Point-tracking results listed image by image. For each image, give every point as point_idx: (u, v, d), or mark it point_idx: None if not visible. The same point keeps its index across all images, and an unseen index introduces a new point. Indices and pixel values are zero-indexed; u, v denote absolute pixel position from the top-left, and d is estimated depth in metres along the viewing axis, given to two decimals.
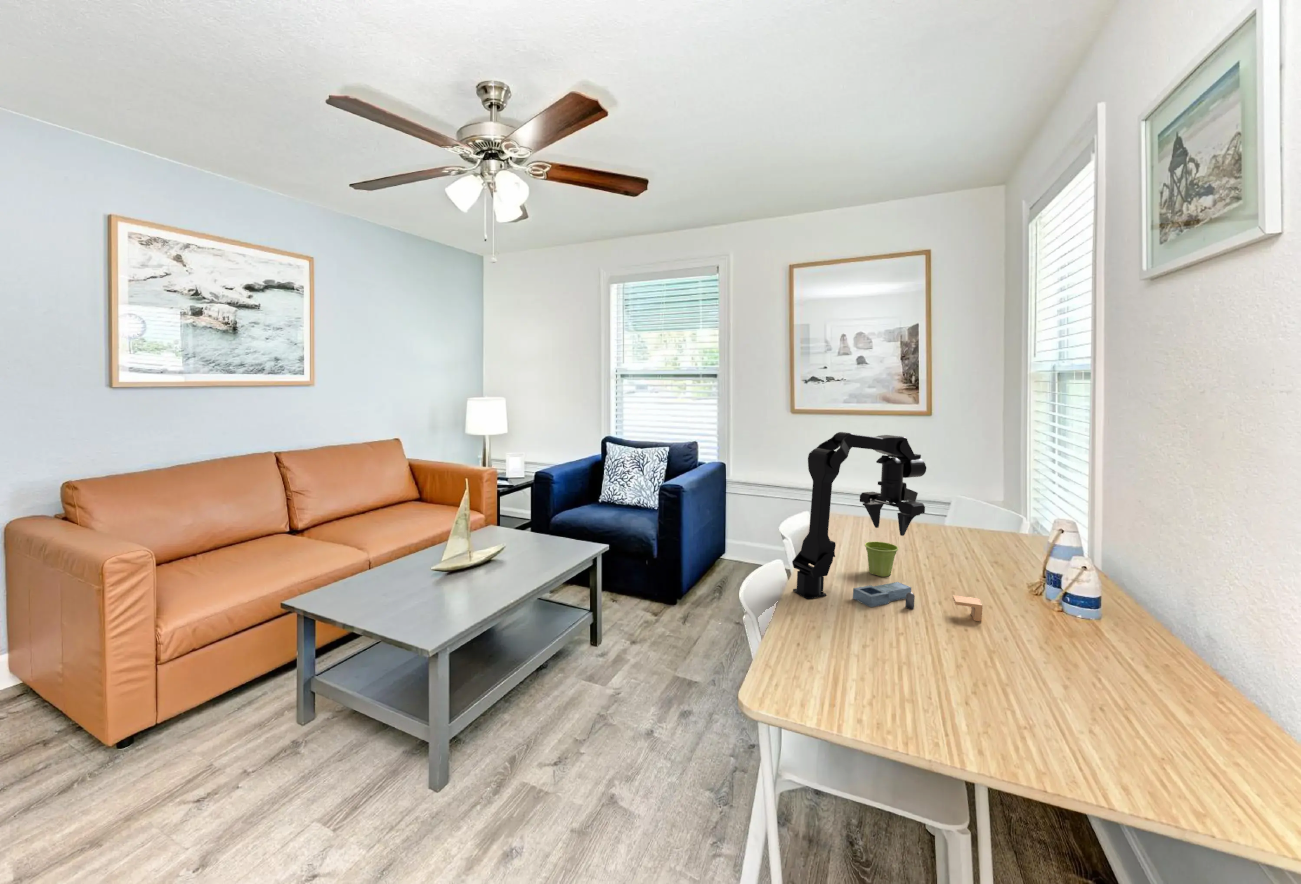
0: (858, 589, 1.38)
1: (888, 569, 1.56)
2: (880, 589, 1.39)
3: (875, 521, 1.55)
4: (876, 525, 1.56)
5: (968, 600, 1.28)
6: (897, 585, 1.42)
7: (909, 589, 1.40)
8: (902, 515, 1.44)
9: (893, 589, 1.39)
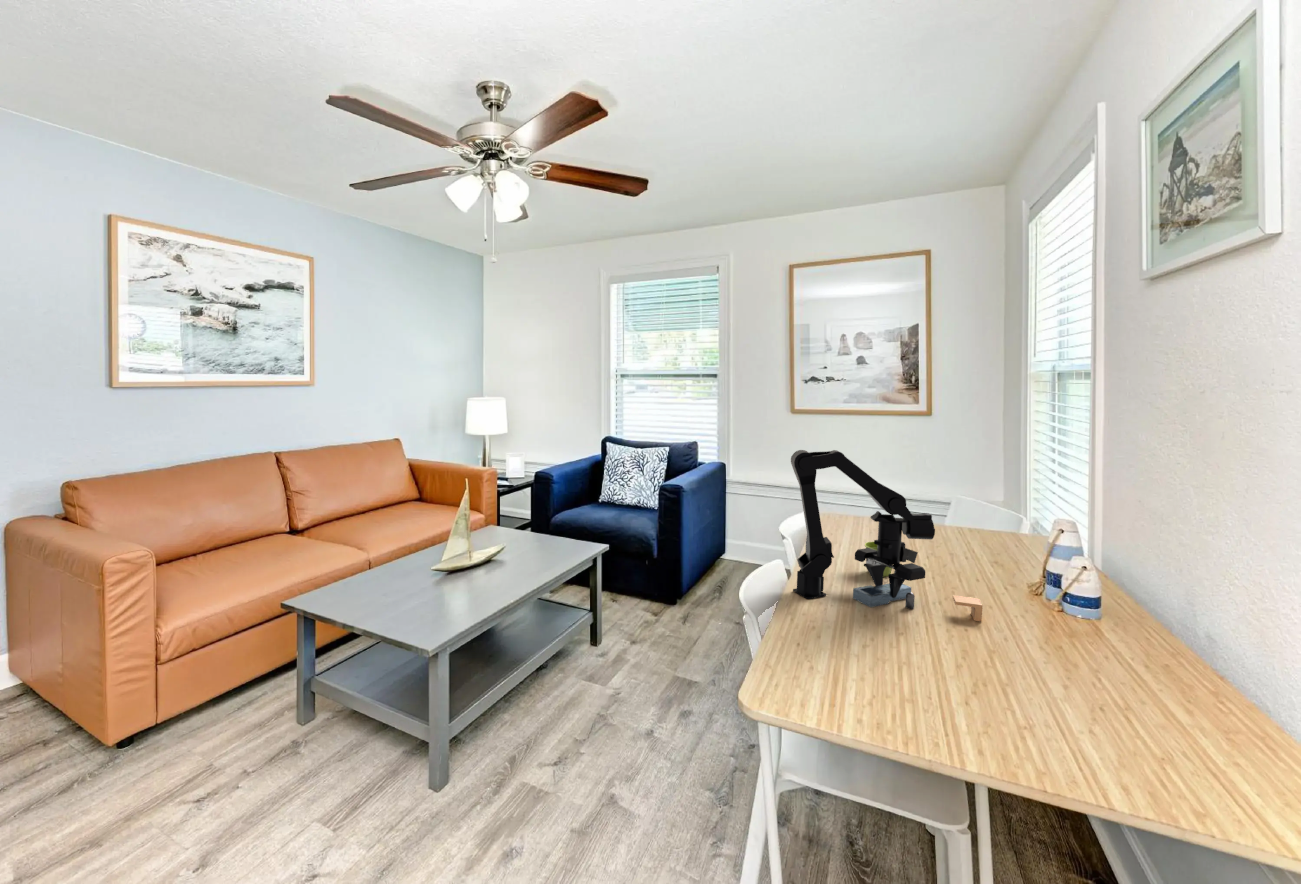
0: (858, 589, 1.38)
1: (888, 569, 1.56)
2: (880, 589, 1.39)
3: (878, 584, 1.41)
4: None
5: (968, 600, 1.28)
6: None
7: (909, 589, 1.40)
8: (893, 577, 1.34)
9: None
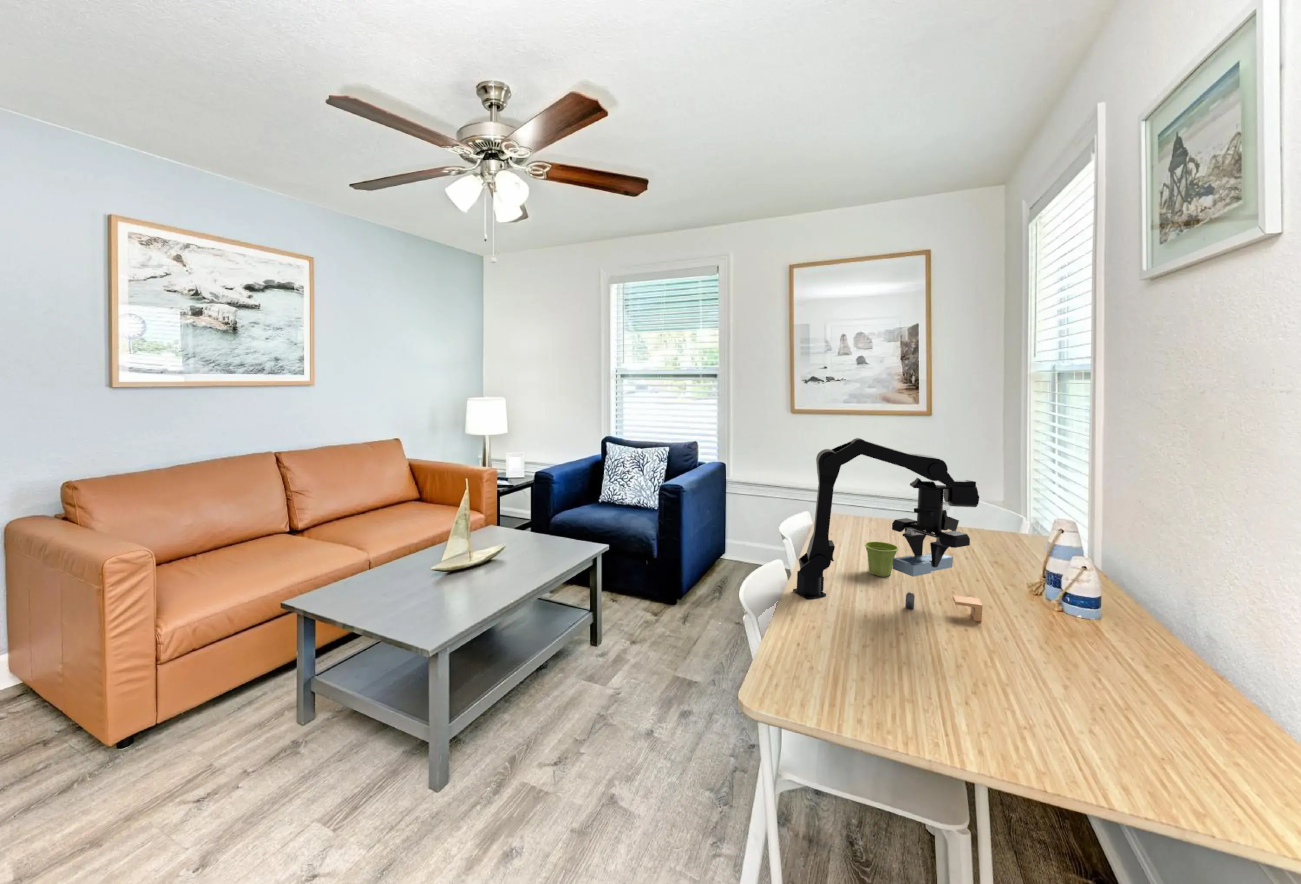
0: (898, 559, 1.34)
1: (888, 569, 1.56)
2: (921, 559, 1.34)
3: (917, 554, 1.37)
4: None
5: (968, 600, 1.28)
6: None
7: (950, 559, 1.35)
8: (936, 545, 1.29)
9: None
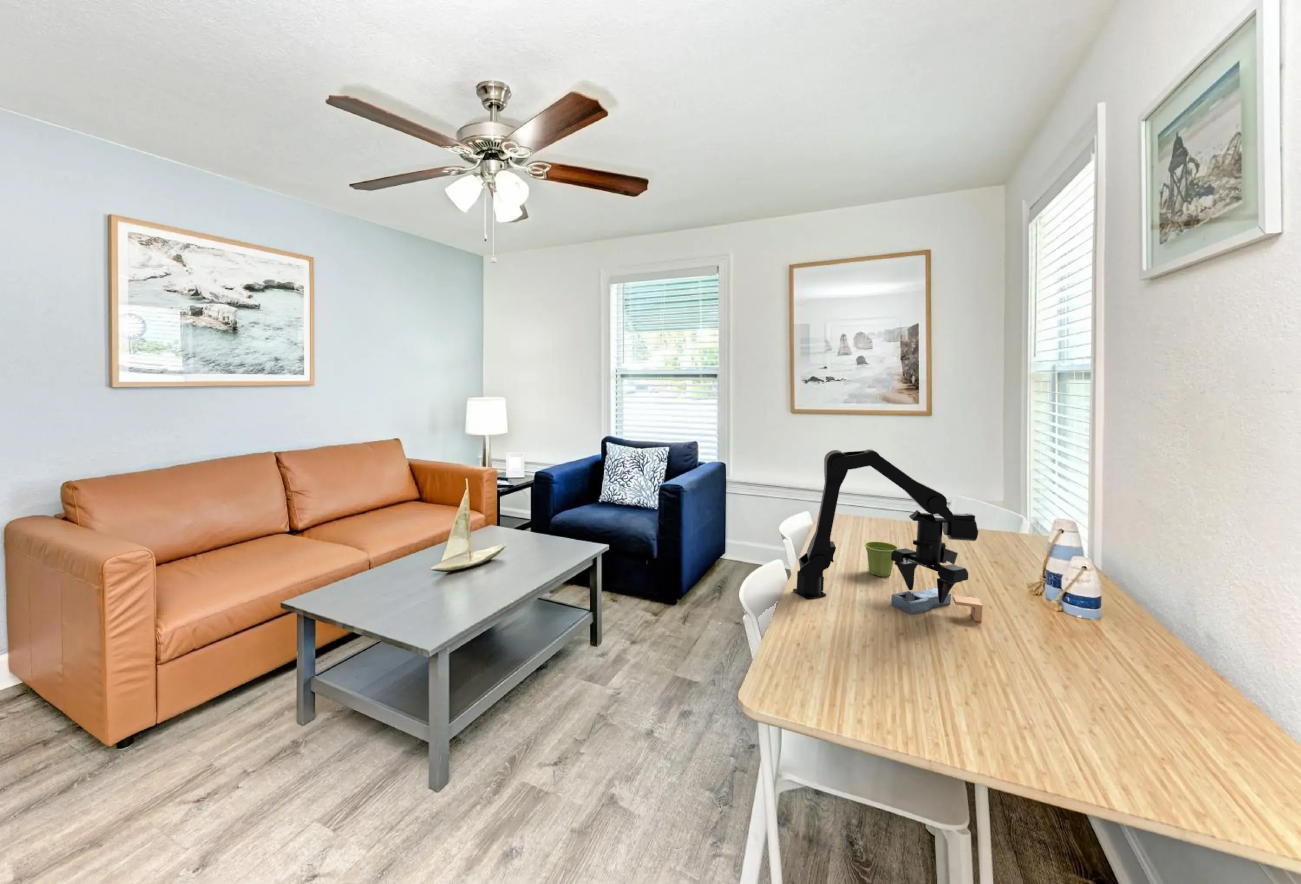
0: (897, 595, 1.34)
1: (888, 569, 1.56)
2: (919, 595, 1.34)
3: (909, 583, 1.39)
4: (910, 587, 1.40)
5: (968, 600, 1.28)
6: (935, 591, 1.38)
7: (949, 595, 1.36)
8: (942, 582, 1.28)
9: (933, 595, 1.35)
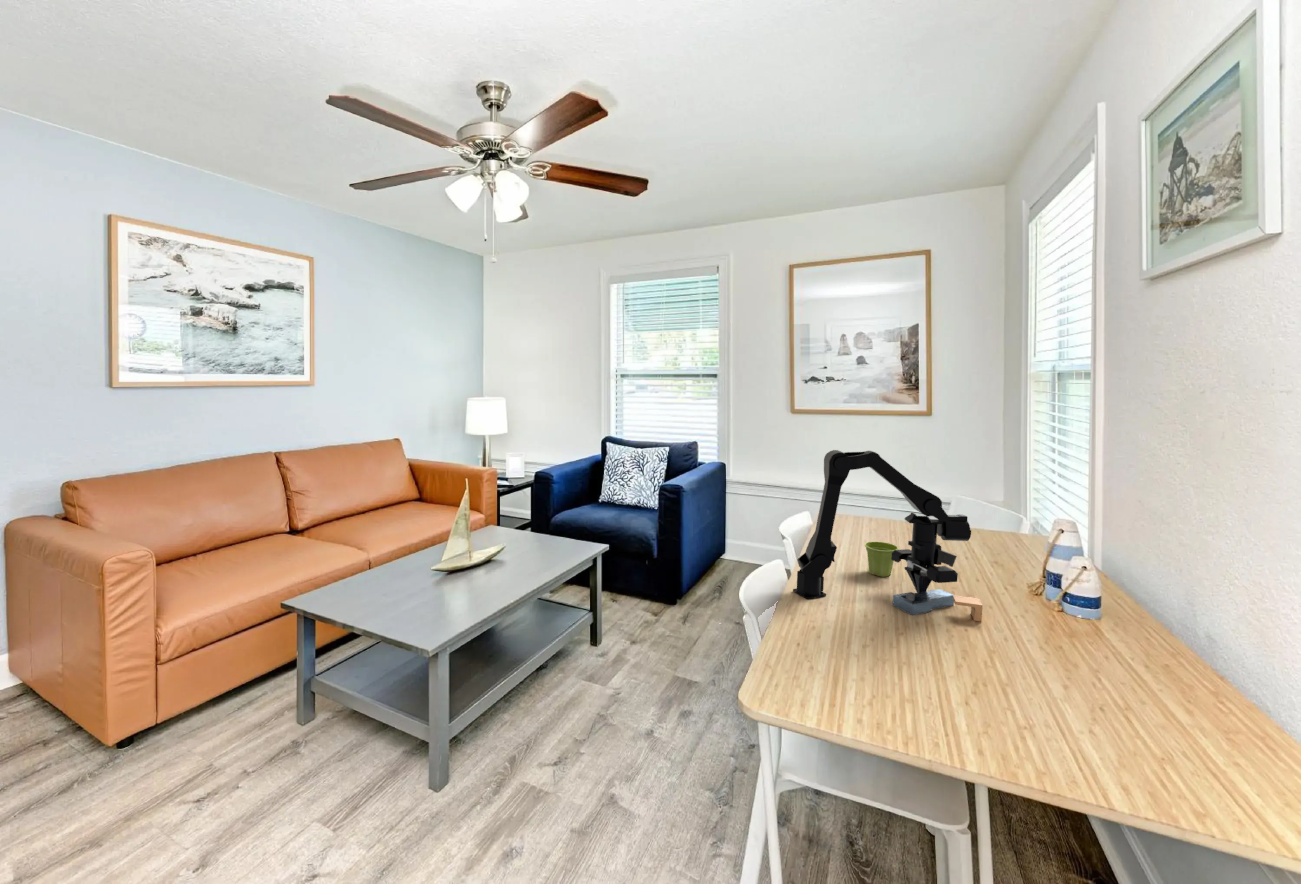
0: (898, 596, 1.34)
1: (888, 569, 1.56)
2: (921, 596, 1.34)
3: None
4: None
5: (968, 600, 1.28)
6: (939, 592, 1.37)
7: (952, 597, 1.35)
8: (918, 576, 1.35)
9: (935, 596, 1.34)
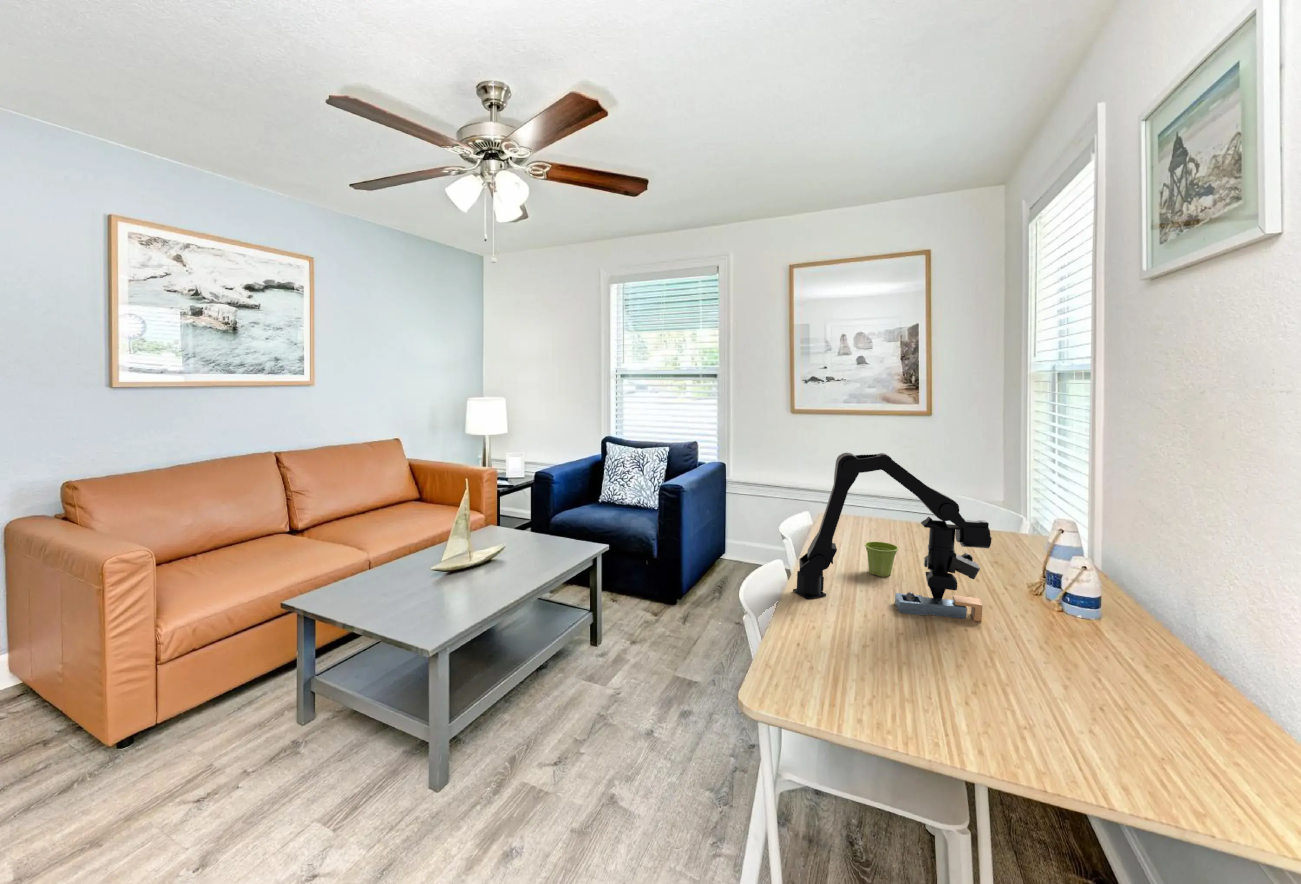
0: (899, 594, 1.35)
1: (888, 569, 1.56)
2: (924, 600, 1.31)
3: None
4: None
5: (968, 600, 1.28)
6: (953, 602, 1.30)
7: (963, 609, 1.27)
8: None
9: (940, 603, 1.29)
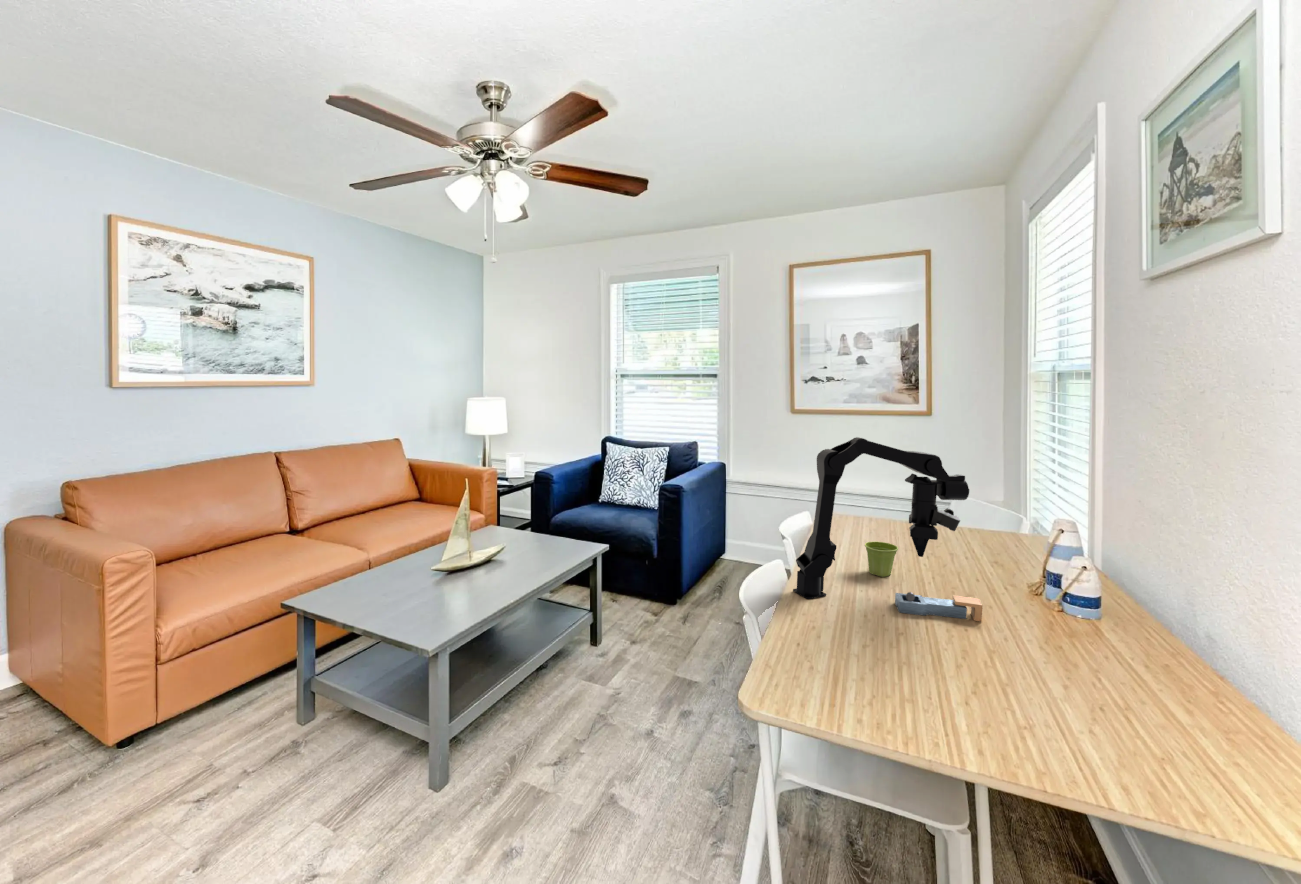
0: (899, 594, 1.35)
1: (888, 569, 1.56)
2: (924, 600, 1.31)
3: None
4: None
5: (968, 600, 1.28)
6: (953, 602, 1.30)
7: (963, 609, 1.27)
8: None
9: (940, 603, 1.29)
